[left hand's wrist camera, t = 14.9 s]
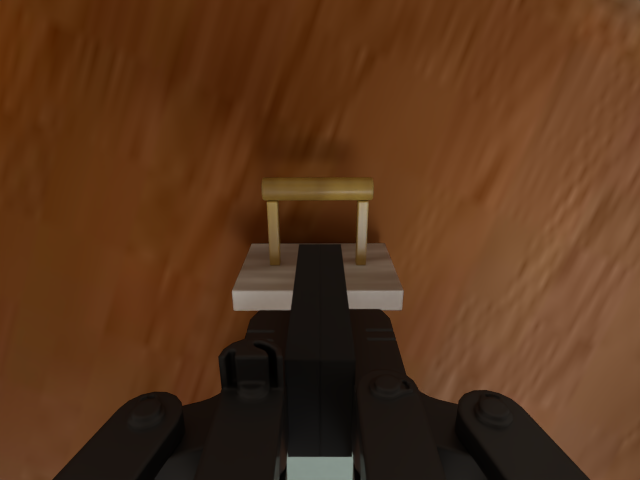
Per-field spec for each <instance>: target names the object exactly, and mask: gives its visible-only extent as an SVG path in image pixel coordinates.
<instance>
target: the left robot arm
mask: <svg viewBox="0 0 640 480" xmlns="http://www.w3.org/2000/svg"><path fill="white" fill-rule="evenodd" d="M218 358H219V367H220V376H221V386H222V390H221V393H219V394H218V395H216V396H214V397H212V398H210V399H207V400H204V401H201V402H197V403H192V404H188V405H184V406H182V403H181V401H180V400H179V399H178V398H177V396H175V395H173V394H170V393H167V392H151V393H147V394H143V395H140V396H138V397H136V398H134V399H132V400H129V401H128V402H127V403H125V404H124V405H123V406H122V407H121V408H119V409H118V410H117V411H116V412H115V413H114V414H113V416H112V417H111V418H110V419H109V420H108V421H107V422H106V423H105V424H104V425H103V426H102V427H101V428H100V429H99V430H98V432H97V433H96V434H95V435H94V436H93V437H92V438H91V439H90V440H89V441H88V442H87V443H86V444H85V445H84V446H83V448H82V449H81V450H80V451H79V452H78V453H77V454H76V455H75V456H74V457H73V458H72V459H71V460H70V461H69V462H68V464H67V465H66V466H65V467H64V468H63V469H62V470H61V471H60V472H59V473H58V474H57V475H56V476H55V477H54V478H53V480H287V454H288V457H352V452H353V480H590V479H589V478H588V477H587V476H586V475H585V474H584V473H583V472H582V471H581V470H580V468H579V467H578V466H577V465H576V464H575V463H574V462H573V461H572V460H571V459H570V458H569V457H568V456H567V455H566V454H565V453H564V452H563V450H562V449H561V448H560V447H559V446H558V445H557V444H556V443H555V442H554V441H553V440H552V439H551V438H550V437H549V436H548V435H547V433H546V432H545V431H544V430H543V429H542V428H541V427H540V426H539V425H538V424H537V423H536V422H535V421H534V420H533V419H532V418H531V417H530V415H529V414H528V413H527V412H526V411H525V410H524V409H523V408H522V407H521V406H519V405H518V404H517V403H516V402H515V401H513V400H512V399H510V398H508V397H506V396H504V395H502V394H500V393H496V392H492V391H487V390H474V391H471V392H469V393H466V394H464V395H463V396H462V397H461V399H460V400H459V403H458V404H454V403H450V402H446V401H442V400H438V399H435V398H432V397H429V396H427V395H425V394H423V393H421V392H420V391H419V390H418V388H417V386H416V384H415V383H414V381H413V380H412V379H411V378H409V377H408V376H407V375H406V372H405V369H404V365H403V362H402V359H401V355H400V352H399V348H398V345H397V342H396V338H395V335H394V332H393V328H392V324H391V321H390V318H389V317H388V316H387V315H386V314H385V313H384V312H383V311H382V310H381V309H349V304H348V296H347V288H346V280H345V272H344V264H343V256H342V249H341V244H299V249H298V256H297V264H296V272H295V280H294V288H293V296H292V304H291V310H260V311H259V312H258V313H257V314H256V315H255V316H254V317H253V318H252V319H251V320H250V323H249V326H248V329H247V333H246V336H245V339H243V340H240V341H238V342H235V343H232V344H231V345H229V346H228V347H226V348H225V349H223V351H222V352H221V354H220V355H219V357H218Z"/></svg>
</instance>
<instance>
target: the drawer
mask: <svg viewBox="0 0 640 480" xmlns="http://www.w3.org/2000/svg"><path fill="white" fill-rule="evenodd" d="M261 190H262V198H263V200H267V219H268V238H269V244H251V247H250V249H249V252H248V254H247V256H246V259H245V261H244V264H243V266H242V268H241V271H240V273H239V276H238V278H237V280H236V283H235V285H234V287H233V290H232V298H233V309H234V310H235V311H260V310H291V304H292V296H293V288H294V280H295V272H296V264H297V256H298V249H299V244H280V228H279V204H278V200H357V217H356V243H340V244H341V249H342V256H343V264H344V272H345V280H346V288H347V296H348V304H349V309H381V310H402V304H403V292H404V291H403V288H402V286H401V283H400V281H399V278H398V276H397V273H396V271H395V268H394V266H393V263H392V261H391V258H390V256H389V253H388V251H387V248H386V245H385V244H384V243H367V230H368V205H369V202H368V200H372V199H373V192H374V184H373V178H371V177H326V178H263V179H262V186H261Z"/></svg>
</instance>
